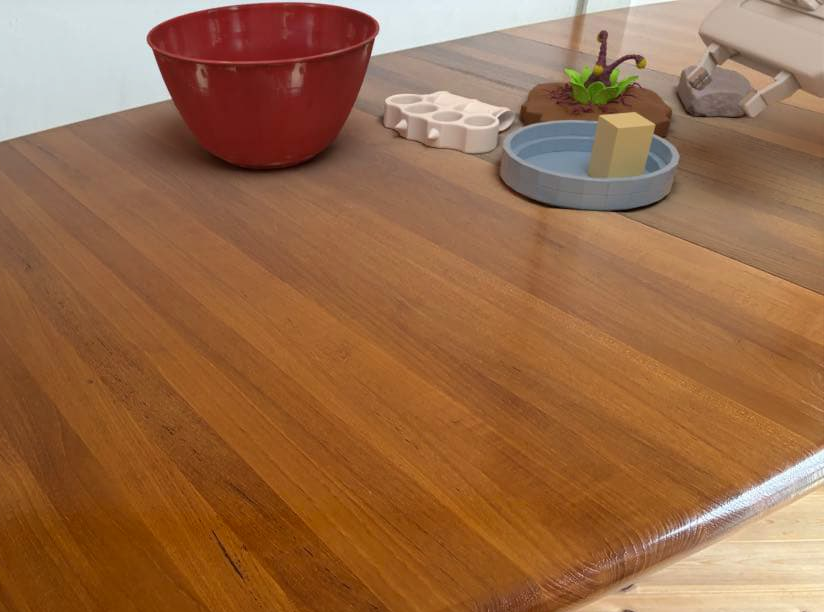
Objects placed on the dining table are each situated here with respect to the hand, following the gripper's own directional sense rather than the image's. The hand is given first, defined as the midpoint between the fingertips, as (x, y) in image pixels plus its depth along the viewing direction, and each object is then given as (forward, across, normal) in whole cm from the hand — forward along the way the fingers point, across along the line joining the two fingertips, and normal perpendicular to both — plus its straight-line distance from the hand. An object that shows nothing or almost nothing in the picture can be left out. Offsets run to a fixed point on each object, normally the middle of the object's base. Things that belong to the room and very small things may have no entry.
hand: (717, 98), depth 88 cm
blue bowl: (+15, +7, -1) cm, 16 cm away
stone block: (-7, +28, -23) cm, 37 cm away
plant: (+7, +27, -9) cm, 29 cm away
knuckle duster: (+22, +27, +7) cm, 35 cm away
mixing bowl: (+40, +26, +24) cm, 53 cm away
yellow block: (+12, +5, -2) cm, 13 cm away
